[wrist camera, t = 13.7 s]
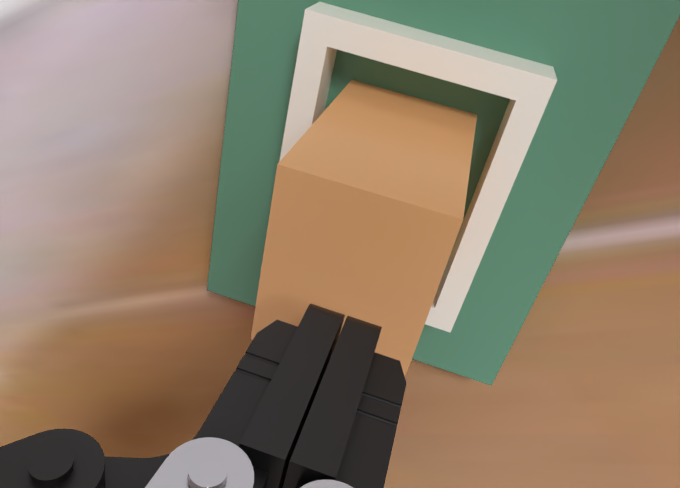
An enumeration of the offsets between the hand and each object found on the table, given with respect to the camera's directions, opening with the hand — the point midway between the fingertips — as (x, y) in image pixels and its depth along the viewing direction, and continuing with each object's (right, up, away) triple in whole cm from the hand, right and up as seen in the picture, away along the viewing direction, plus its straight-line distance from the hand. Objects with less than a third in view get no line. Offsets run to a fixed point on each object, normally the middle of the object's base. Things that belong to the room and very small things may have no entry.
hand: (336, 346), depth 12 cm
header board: (+2, +5, +9) cm, 10 cm away
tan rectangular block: (+2, +5, +7) cm, 9 cm away
